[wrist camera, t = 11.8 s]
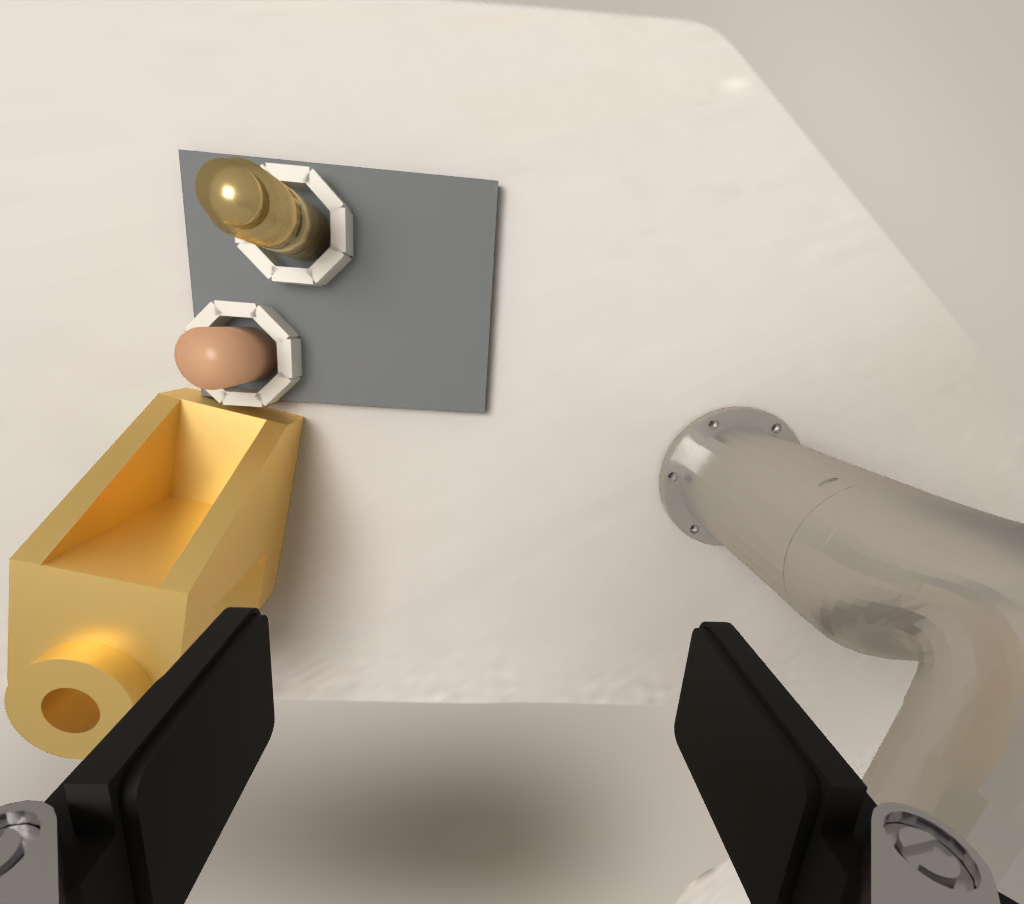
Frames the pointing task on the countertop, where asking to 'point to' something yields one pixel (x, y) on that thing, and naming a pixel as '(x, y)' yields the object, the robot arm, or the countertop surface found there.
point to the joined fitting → (239, 353)
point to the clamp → (144, 562)
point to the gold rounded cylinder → (261, 209)
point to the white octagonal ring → (340, 232)
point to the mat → (372, 288)
